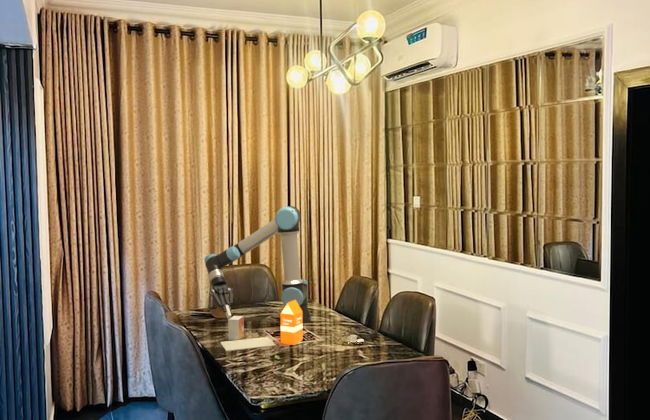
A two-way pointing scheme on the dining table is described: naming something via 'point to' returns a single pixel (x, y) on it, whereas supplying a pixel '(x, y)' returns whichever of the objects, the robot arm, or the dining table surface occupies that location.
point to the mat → (247, 344)
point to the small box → (236, 327)
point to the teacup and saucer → (354, 337)
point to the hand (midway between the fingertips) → (229, 316)
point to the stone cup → (220, 309)
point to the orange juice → (291, 324)
